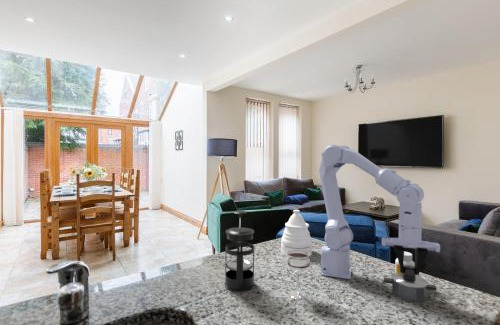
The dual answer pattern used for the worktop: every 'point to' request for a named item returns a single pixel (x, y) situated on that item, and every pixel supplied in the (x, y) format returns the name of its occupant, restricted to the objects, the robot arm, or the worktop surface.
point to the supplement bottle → (404, 262)
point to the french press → (239, 258)
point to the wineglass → (298, 268)
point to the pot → (409, 292)
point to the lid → (409, 278)
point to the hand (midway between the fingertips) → (409, 272)
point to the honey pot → (296, 235)
